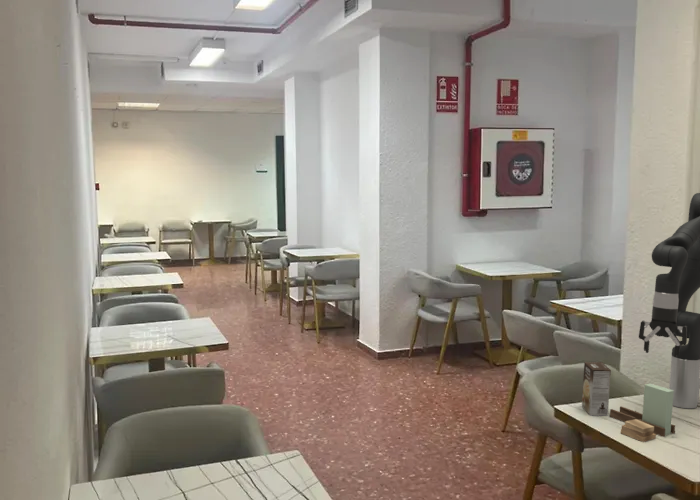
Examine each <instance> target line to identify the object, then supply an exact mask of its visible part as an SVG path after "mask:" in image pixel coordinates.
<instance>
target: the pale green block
mask: <svg viewBox="0 0 700 500" xmlns="http://www.w3.org/2000/svg"><path fill="white" fill-rule="evenodd" d="M673 393H674V390H670V389H669V388H667V387H663V386H661V385H657V384H653V383H646V384H644V390H643V405H642V414H643V416H642V420H643V421H646V422H649V423H651V424H654V425H657V426H660V427H662V428H665V436H667V435H668V436H669V435H671V434H672V433H671V424H672V418H673V407H674V406H673Z"/></svg>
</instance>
